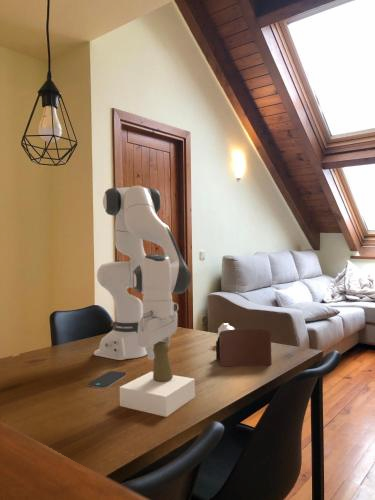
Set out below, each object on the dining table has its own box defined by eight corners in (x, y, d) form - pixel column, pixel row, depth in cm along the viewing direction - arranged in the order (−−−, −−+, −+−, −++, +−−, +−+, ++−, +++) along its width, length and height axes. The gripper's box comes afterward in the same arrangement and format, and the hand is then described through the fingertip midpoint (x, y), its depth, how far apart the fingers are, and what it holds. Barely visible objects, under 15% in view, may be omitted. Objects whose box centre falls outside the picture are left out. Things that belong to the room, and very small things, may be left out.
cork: (170, 382, 122) (166, 347, 120) (150, 381, 123) (147, 347, 121) (175, 372, 128) (172, 339, 126) (156, 372, 129) (153, 339, 127)
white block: (120, 407, 119) (119, 387, 119) (151, 389, 133) (151, 371, 133) (166, 418, 111) (166, 396, 111) (195, 398, 125) (194, 378, 125)
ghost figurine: (225, 341, 191) (225, 320, 191) (242, 345, 184) (241, 323, 184) (212, 345, 185) (212, 323, 184) (229, 349, 178) (229, 326, 178)
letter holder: (271, 365, 155) (271, 328, 155) (219, 367, 154) (219, 329, 154) (265, 357, 165) (264, 322, 165) (216, 359, 164) (215, 324, 164)
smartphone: (85, 384, 136) (109, 370, 150) (85, 386, 136) (109, 372, 150) (105, 386, 134) (128, 372, 148) (105, 389, 134) (128, 374, 148)
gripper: (151, 315, 111) (152, 366, 112) (180, 303, 130) (181, 347, 131) (131, 314, 114) (132, 364, 114) (162, 303, 133) (163, 345, 133)
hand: (158, 355), depth 123 cm, fingers open, 8 cm apart
